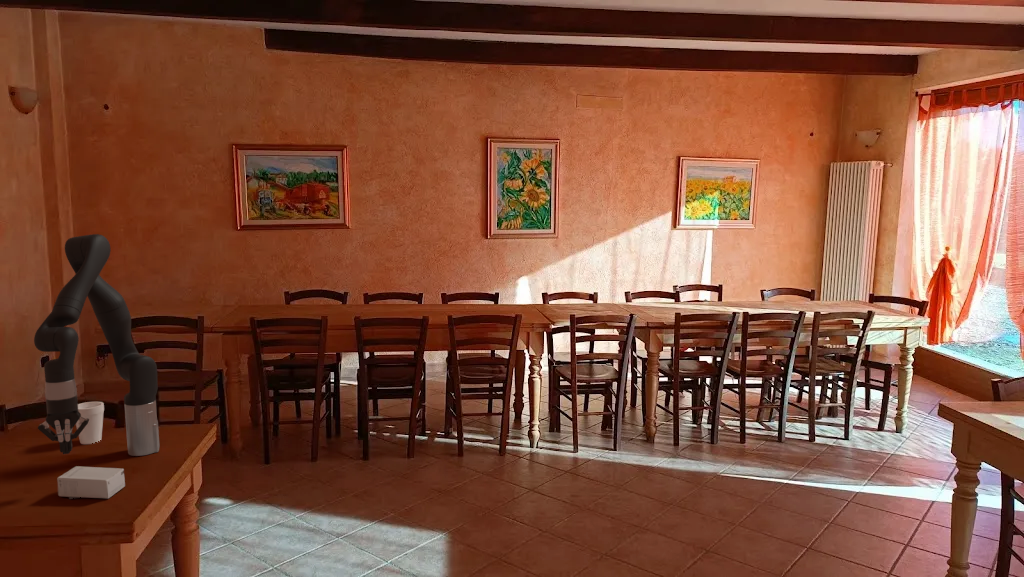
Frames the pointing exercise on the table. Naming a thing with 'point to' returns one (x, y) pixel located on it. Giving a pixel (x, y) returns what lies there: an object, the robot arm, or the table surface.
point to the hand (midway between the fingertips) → (66, 453)
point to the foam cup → (91, 422)
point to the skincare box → (91, 482)
